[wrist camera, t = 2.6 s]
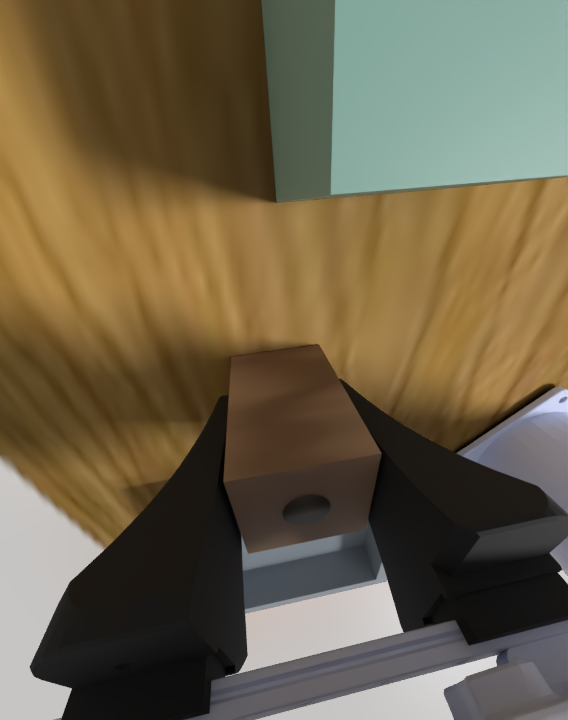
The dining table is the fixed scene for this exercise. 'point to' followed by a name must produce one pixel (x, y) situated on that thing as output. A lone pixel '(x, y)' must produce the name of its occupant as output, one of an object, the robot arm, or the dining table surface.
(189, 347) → the dining table surface
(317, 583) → the tray
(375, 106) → the green block
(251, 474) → the walnut block
